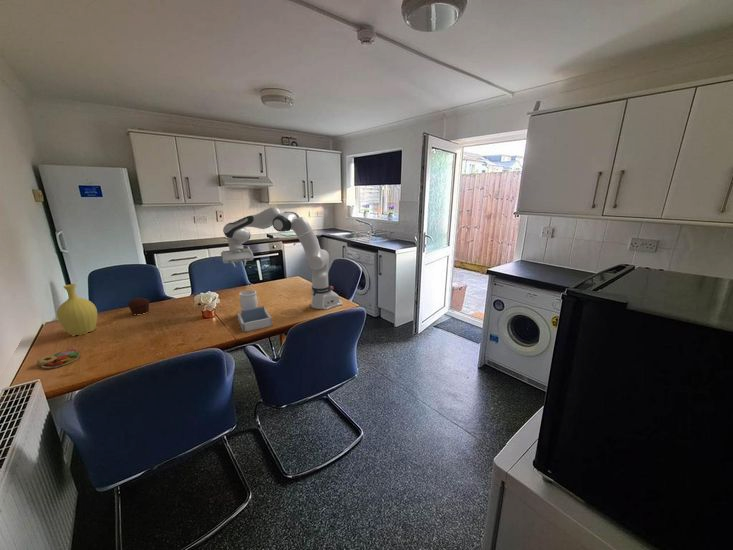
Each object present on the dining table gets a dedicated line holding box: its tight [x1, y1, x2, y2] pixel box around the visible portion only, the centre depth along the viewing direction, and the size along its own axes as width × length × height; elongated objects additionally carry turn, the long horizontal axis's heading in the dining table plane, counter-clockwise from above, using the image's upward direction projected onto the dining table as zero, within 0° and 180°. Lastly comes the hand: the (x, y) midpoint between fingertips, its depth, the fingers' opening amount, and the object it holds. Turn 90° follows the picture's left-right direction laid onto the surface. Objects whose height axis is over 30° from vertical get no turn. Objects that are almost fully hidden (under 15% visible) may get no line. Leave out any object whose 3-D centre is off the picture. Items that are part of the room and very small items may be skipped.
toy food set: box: [36, 349, 80, 370], centre depth 138 cm, size 13×13×3 cm
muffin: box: [127, 297, 151, 315], centre depth 192 cm, size 12×11×10 cm
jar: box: [238, 289, 258, 310], centre depth 190 cm, size 11×10×15 cm
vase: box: [56, 283, 98, 336], centre depth 163 cm, size 16×16×28 cm
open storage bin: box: [237, 307, 273, 333], centre depth 178 cm, size 16×19×5 cm
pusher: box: [240, 305, 265, 323], centre depth 180 cm, size 13×2×8 cm, turn 121°
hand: (240, 266), depth 204 cm, fingers open, 5 cm apart
